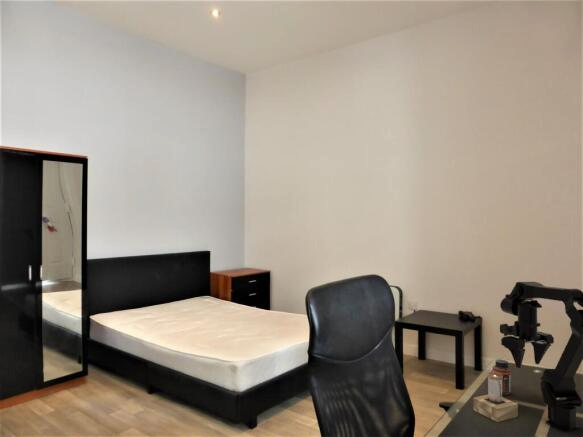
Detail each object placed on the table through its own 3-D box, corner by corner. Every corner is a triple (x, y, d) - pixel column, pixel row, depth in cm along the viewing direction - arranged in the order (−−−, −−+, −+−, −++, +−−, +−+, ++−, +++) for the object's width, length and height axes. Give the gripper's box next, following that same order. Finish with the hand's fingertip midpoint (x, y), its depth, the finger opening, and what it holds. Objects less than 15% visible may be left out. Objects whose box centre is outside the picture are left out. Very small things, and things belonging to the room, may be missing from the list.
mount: (517, 416, 131) (517, 403, 131) (497, 422, 127) (497, 408, 127) (493, 405, 139) (493, 393, 139) (473, 410, 135) (473, 397, 135)
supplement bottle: (492, 393, 148) (491, 362, 149) (492, 388, 154) (492, 357, 154) (511, 397, 146) (510, 364, 146) (511, 391, 151) (510, 359, 151)
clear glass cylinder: (506, 414, 132) (505, 375, 132) (496, 417, 130) (496, 377, 130) (494, 408, 136) (494, 371, 136) (484, 411, 134) (484, 373, 134)
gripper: (524, 312, 151) (524, 355, 151) (487, 316, 143) (487, 362, 143) (554, 318, 141) (555, 364, 140) (516, 323, 133) (516, 372, 133)
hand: (527, 365), depth 139 cm, fingers open, 9 cm apart
